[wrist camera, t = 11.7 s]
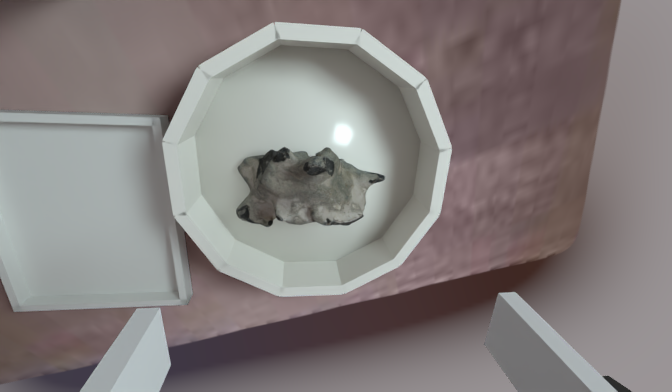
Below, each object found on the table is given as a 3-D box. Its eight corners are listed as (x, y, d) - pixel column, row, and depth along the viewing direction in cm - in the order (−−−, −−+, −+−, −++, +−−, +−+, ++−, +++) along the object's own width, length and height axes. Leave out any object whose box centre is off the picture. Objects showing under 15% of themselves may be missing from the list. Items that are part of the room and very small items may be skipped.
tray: (28, 300, 37) (13, 311, 35) (-43, 108, 29) (-66, 110, 27) (192, 293, 39) (187, 304, 37) (167, 115, 31) (159, 117, 29)
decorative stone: (250, 241, 35) (229, 272, 25) (226, 163, 34) (194, 164, 24) (383, 204, 36) (412, 220, 27) (365, 128, 35) (388, 115, 25)
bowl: (202, 267, 38) (185, 300, 32) (172, 25, 29) (142, 12, 23) (408, 262, 41) (426, 291, 36) (441, 43, 32) (472, 36, 26)
